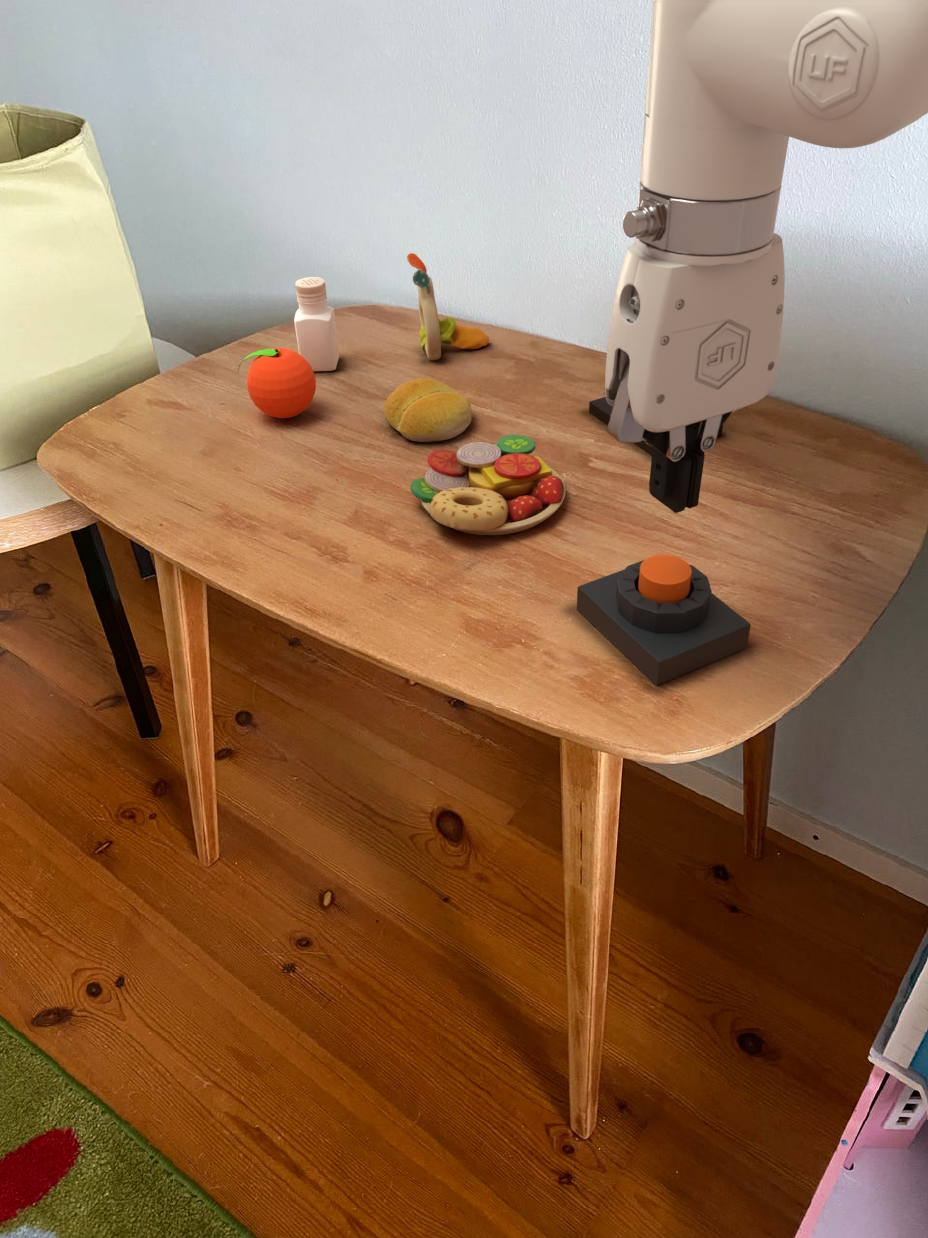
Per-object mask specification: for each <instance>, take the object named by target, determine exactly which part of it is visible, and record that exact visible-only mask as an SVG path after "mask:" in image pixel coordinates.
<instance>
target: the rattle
mask: <svg viewBox="0 0 928 1238" xmlns="http://www.w3.org/2000/svg"><path fill="white" fill-rule="evenodd" d="M406 259H407V262H408V264H409V265H410V266H411V267H413V268H415V269H416V271H414V273H413V275H412V281H413V282H412V283H413V284H414V285H415V286H417V292H418V299H417V300H418V313H419V322H420V330H419V331H418V335H419V339H420V346H421V350H422V351H423V352H425V353H426V357H427V359H428V360H429V361H438V360H440V359H441V356H442V346H451V347H454V348H457V349H459V350H465V349H466V350H476V349H481V348H482V347H486V346H488V343H489V342H490V337H489V336H488V334H486V333H485V332H484V331H483V330H481V329H480V328H478V327H475V326H474V327H467V326H464V325H460V324H457V323H456V320H455V319H454V317H453V316H452V317H451V316H448V317H446V318H444V319H441V320H440V318H439V313H438V308H437V303H436V297H435V290H434V284H433V283H434V282H433V279H432V278H431V277H430V276H429V275H428V272H427V267H426V264H425V263H424V261H422V259H421V258H420V257H419V256H418V255H417V254H416V253H413V252H410V253H408V254H407V255H406Z"/></svg>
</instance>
